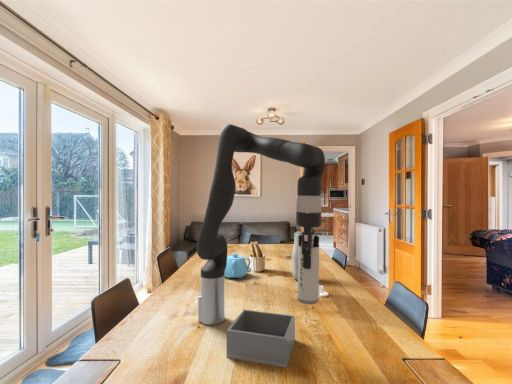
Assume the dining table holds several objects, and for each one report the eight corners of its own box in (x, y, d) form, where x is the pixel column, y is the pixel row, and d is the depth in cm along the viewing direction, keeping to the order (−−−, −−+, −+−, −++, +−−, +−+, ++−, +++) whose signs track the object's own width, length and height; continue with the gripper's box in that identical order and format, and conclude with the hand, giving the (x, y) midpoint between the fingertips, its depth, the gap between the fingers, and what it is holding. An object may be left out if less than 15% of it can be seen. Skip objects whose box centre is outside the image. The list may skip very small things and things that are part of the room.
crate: (226, 357, 84) (226, 330, 84) (244, 332, 99) (244, 309, 99) (286, 367, 79) (286, 338, 79) (294, 339, 94) (294, 315, 94)
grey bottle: (308, 278, 166) (308, 230, 166) (310, 283, 156) (310, 232, 156) (291, 277, 167) (291, 230, 167) (292, 282, 157) (292, 232, 157)
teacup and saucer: (329, 298, 134) (329, 290, 134) (312, 297, 135) (312, 288, 135) (328, 292, 142) (328, 284, 142) (312, 291, 144) (312, 283, 144)
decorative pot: (253, 277, 168) (254, 254, 168) (230, 282, 158) (231, 257, 158) (238, 271, 181) (239, 250, 181) (216, 275, 171) (216, 253, 172)
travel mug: (315, 296, 89) (316, 233, 89) (320, 304, 83) (321, 236, 83) (295, 296, 89) (296, 233, 89) (299, 304, 82) (300, 236, 82)
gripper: (299, 209, 94) (298, 259, 94) (292, 211, 80) (292, 270, 80) (322, 209, 92) (322, 261, 91) (319, 212, 78) (319, 273, 78)
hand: (308, 265), depth 86 cm, fingers closed on travel mug, 6 cm apart
